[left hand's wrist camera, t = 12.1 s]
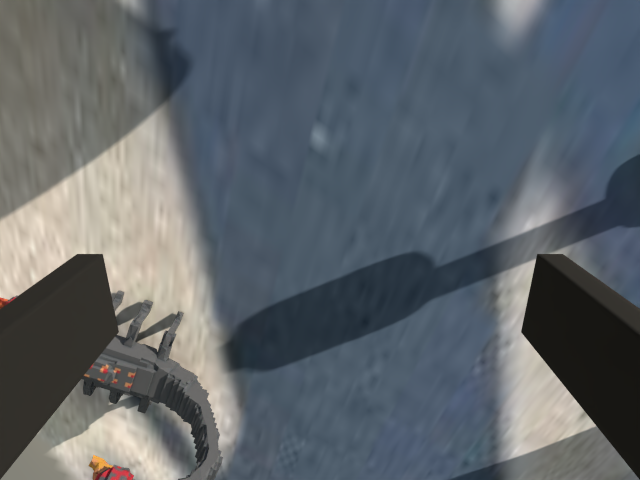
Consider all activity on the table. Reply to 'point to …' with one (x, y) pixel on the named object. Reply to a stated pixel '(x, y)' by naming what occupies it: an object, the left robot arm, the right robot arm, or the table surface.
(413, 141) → the table surface
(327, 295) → the table surface
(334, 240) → the table surface
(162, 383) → the toy
